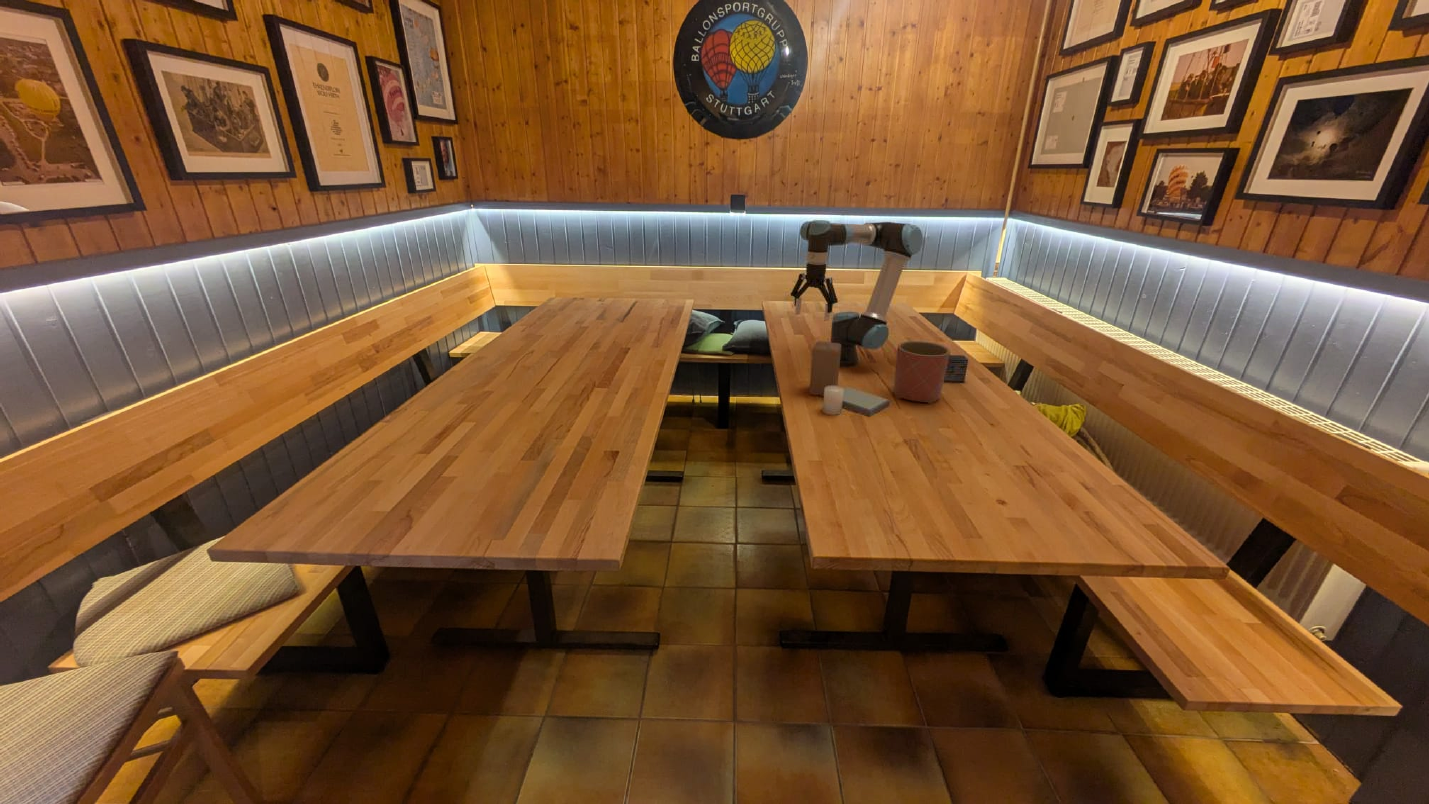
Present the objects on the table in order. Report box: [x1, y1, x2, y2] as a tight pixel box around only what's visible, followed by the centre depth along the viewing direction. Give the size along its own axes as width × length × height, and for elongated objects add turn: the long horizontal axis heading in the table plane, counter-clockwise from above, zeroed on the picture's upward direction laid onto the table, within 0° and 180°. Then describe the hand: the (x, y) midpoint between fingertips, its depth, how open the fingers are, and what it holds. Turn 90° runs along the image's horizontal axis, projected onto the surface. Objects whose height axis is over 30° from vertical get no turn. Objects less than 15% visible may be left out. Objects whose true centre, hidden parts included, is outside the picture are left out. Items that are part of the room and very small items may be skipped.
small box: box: [943, 354, 969, 384], centre depth 236 cm, size 11×6×10 cm, turn 84°
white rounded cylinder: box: [822, 385, 845, 415], centre depth 206 cm, size 7×7×9 cm
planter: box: [892, 340, 951, 405], centre depth 218 cm, size 19×19×20 cm
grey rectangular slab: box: [842, 386, 891, 417], centre depth 214 cm, size 19×14×2 cm
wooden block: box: [808, 340, 841, 397], centre depth 221 cm, size 10×10×20 cm
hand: (811, 317), depth 220 cm, fingers open, 13 cm apart
